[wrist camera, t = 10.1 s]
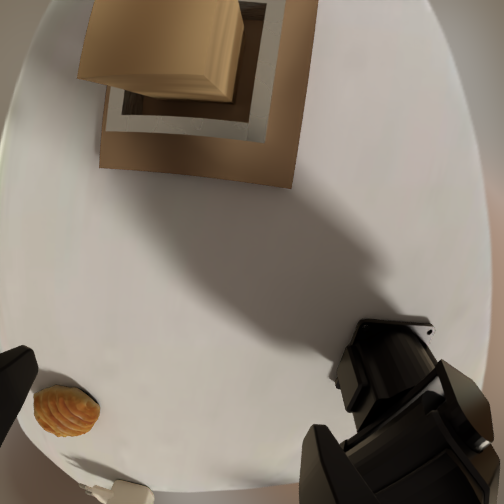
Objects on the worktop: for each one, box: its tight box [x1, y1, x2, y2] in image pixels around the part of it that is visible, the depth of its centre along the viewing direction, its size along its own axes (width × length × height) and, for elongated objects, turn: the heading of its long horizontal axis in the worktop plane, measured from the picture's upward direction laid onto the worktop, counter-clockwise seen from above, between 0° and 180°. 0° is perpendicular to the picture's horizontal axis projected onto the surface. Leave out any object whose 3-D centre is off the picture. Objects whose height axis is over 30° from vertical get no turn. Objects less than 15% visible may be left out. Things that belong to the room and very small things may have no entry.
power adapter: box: [79, 480, 154, 504], centre depth 30 cm, size 11×5×6 cm, turn 90°
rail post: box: [77, 0, 246, 105], centre depth 10 cm, size 4×4×8 cm
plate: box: [99, 0, 318, 189], centre depth 14 cm, size 11×12×1 cm
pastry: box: [33, 385, 100, 437], centre depth 24 cm, size 9×7×4 cm
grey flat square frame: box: [106, 0, 286, 143], centre depth 13 cm, size 8×8×2 cm
